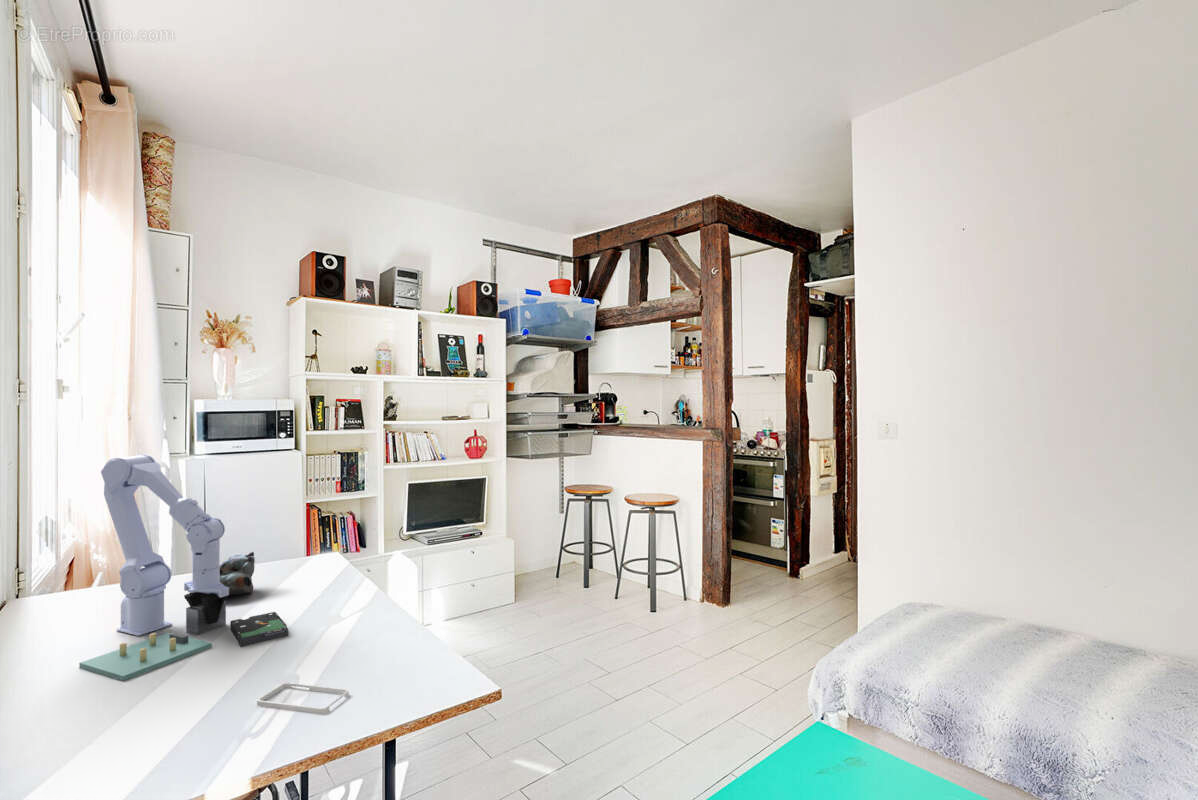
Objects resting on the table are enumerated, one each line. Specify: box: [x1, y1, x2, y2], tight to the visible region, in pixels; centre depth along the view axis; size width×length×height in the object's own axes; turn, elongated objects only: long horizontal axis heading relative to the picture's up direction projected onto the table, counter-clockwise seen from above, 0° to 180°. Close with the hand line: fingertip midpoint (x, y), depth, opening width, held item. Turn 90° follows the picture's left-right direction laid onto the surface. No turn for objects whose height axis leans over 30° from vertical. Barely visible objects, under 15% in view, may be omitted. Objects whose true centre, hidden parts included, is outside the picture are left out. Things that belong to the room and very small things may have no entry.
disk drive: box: [229, 611, 289, 648], centre depth 144 cm, size 10×3×15 cm
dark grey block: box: [185, 600, 227, 636], centre depth 147 cm, size 4×7×6 cm, turn 157°
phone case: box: [256, 682, 350, 714], centre depth 111 cm, size 7×1×15 cm
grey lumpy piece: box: [209, 551, 256, 596], centre depth 173 cm, size 15×12×14 cm
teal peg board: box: [78, 632, 213, 682], centre depth 130 cm, size 16×18×4 cm
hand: (206, 621), depth 147 cm, fingers closed on dark grey block, 4 cm apart
